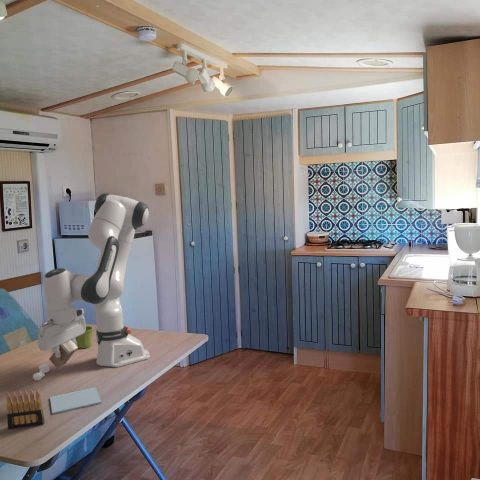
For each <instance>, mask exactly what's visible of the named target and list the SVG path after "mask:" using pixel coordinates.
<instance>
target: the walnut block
mask: <svg viewBox="0 0 480 480" xmlns="http://www.w3.org/2000/svg"><path fill="white" fill-rule="evenodd" d="M59 347H60V348H58V349H59V350H60V351H61V352H62V355H63V356H62V357H60V358H56V355H55V352H54V351H53V353H52V354H51V355H50V357H49V358H48V360H49V361H50V362H51V363H52V364H53V365H54V367H55V368H56V369H58V368H60V367H61V366H64V365H65V364H67V362H68V361H69V360H70V358H72V356H73V355H74V354H75V352H76V351H77V350H78V349H79V348H78V346H77V344H76V343H73V341H72V340H69V341H67V342H65V343H63V344H61V345H59Z"/></svg>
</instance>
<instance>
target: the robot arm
mask: <svg viewBox="0 0 480 480" xmlns="http://www.w3.org/2000/svg"><path fill="white" fill-rule="evenodd" d="M149 209H150V208H149V206H148V205H147V204H146V203H144V202H142V201H138V200H135V199H134V198H131V197H127V196H121V195H117V194H112V193H107V192H104V193H101V194H100V195H98V196H97V198H96V199H95V203H94V212H95V215H94V217H93V219H92V221H91V223H90V225H89V227H88V232H87V237H88V240H89V241H90V242H91V244H92V245H93V246H94V247H96V248H98V249H99V250H100V255H99V259H98V261H97V264H96V268H95V270H94V272H93V273H91V274H82V273H80V274H79V273H76V272H75V273H74V272H72V271H69V270H67V269H66V268H63V267H62V268H61V267H58V268H55V269H52V270H49V271H47V272H46V273H45V275H44V276H43V295H44V300H45V302H46V306H45V311H46V313H45V314H46V320H47V321H44V322H41V324H40V326H39V327H38V333H37V342H38V343H37V344H38V345H37V346H38V349H39V350H40V351H45V352H46V351H51V350H52V351H53V353H54V352H55V355H56V358H60V357H62V356H63V355H62V352H61V351H60V350H59V349H58V348H60V347H59V345H61V344H63V343H65V342H67V341H69V340H72V341H73V343H74V344H76V338H75V337H77V336H79V335H81V334H84V333H85V330H86V326H87V325H86V319H85V316H84V314H85V310H84V308H75V307H74V304H73V302H75V301H76V302H83V303H88V304H93V307H94V310H95V321H96V332H95V333H96V334H95V335H96V336H95V337H96V342H97V356H96V357H97V358H96V362H95V363H96V364H97V365H98V366H101V367H112V368H119V367H123V366H126V365H130V364H134V363H139V362H142V361H145V360H148V359H150V352H149V350H148V349H146V348H144V344H143V343H142V341H141V340H140V339H139V338H137V337H135V336H133V335H131V334H132V329H130V328H129V327H127V326H126V325H125V324H124V315H123V307H122V305H121V300H120V297H121V296H122V295H123V292H124V290H125V279H126V273H127V272H126V271H127V265H128V260H129V256H130V253H131V248H132V246H133V242H134V239H135V233H136V230H137V229H138V228H139V229H140V228H141V227H143V226H144V225H146V223H147V221H148V219H149V214H150V211H149Z"/></svg>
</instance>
